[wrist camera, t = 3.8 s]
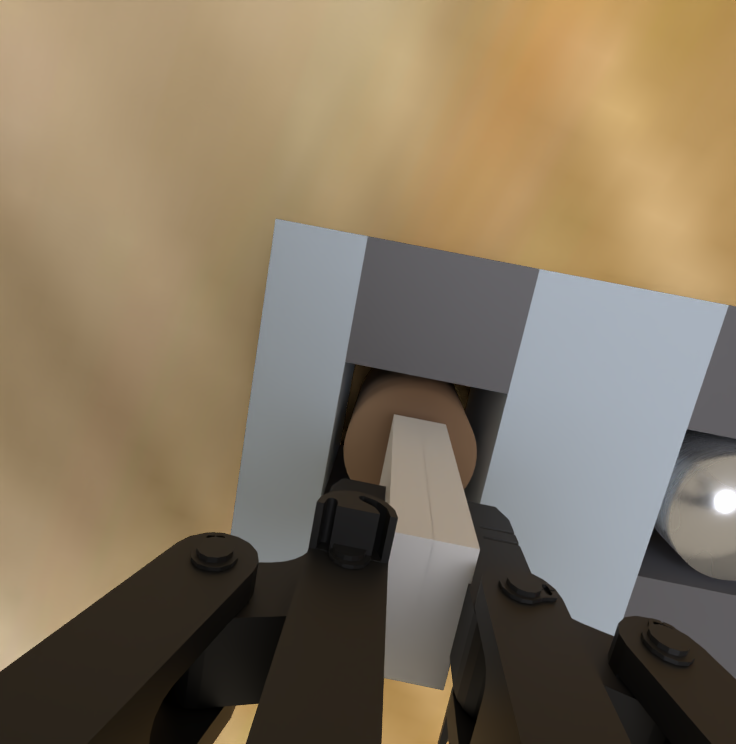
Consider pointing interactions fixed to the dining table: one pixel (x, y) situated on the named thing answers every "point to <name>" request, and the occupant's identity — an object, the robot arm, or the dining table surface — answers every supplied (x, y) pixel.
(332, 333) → the socket block
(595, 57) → the dining table surface
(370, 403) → the walnut peg
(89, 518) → the dining table surface
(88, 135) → the dining table surface
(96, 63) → the dining table surface
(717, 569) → the grey metal peg
